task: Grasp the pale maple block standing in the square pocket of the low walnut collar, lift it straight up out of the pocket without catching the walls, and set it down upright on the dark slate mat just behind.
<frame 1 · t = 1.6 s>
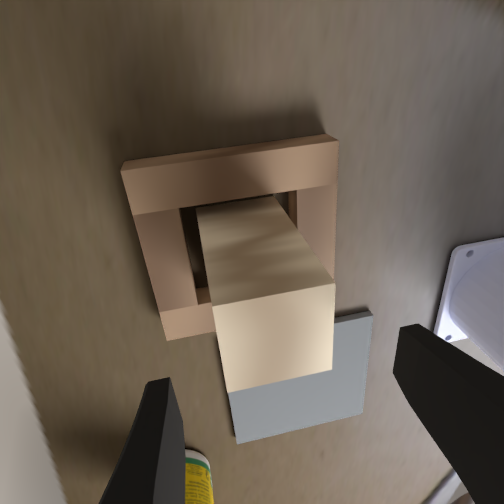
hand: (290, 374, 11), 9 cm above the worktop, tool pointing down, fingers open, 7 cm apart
supplement bottle: (175, 466, 28), on the worktop
slate mat: (298, 379, 26), on the worktop
pocket block: (239, 237, 19), on the worktop
maple part: (254, 277, 16), in the pocket block
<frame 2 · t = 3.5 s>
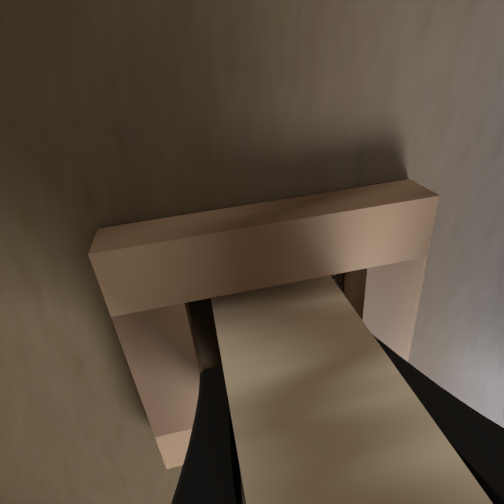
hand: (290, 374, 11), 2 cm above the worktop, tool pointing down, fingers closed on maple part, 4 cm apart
pocket block: (271, 323, 13), on the worktop
maple part: (307, 419, 10), in the pocket block, touching gripper
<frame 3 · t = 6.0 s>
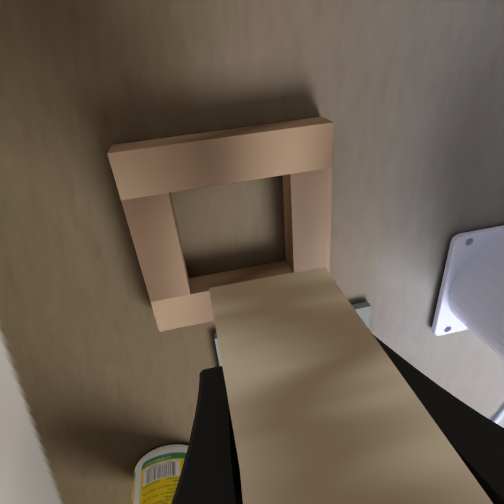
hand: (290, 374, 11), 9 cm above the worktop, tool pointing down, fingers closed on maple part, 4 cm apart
supplement bottle: (170, 461, 28), on the worktop
slate mat: (294, 372, 25), on the worktop
pocket block: (232, 224, 19), on the worktop
maple part: (307, 418, 10), point 11 cm above the worktop, touching gripper
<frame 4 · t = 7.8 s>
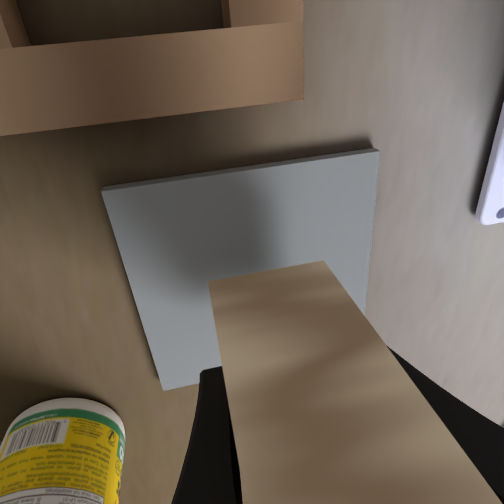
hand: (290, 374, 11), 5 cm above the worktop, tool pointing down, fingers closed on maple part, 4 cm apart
supplement bottle: (71, 427, 18), on the worktop
slate mat: (255, 279, 16), on the worktop
maple part: (306, 410, 10), point 7 cm above the worktop, touching gripper
when the fingers open (4 cm above the worktop, at t = 9.0 s): maple part stays where it is, resting on slate mat.
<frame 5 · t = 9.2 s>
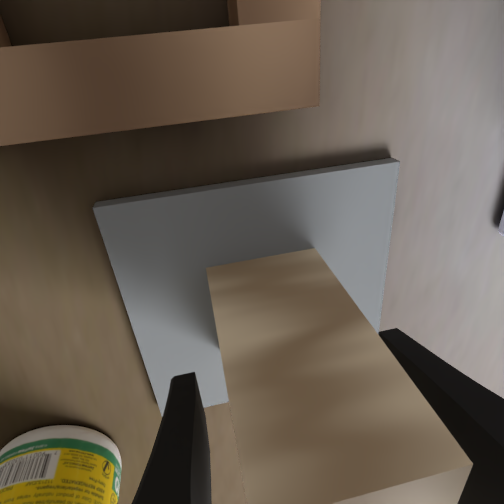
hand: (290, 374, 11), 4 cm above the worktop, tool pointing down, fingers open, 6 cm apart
supplement bottle: (63, 455, 17), on the worktop
slate mat: (262, 298, 14), on the worktop
maple part: (296, 384, 11), on the slate mat
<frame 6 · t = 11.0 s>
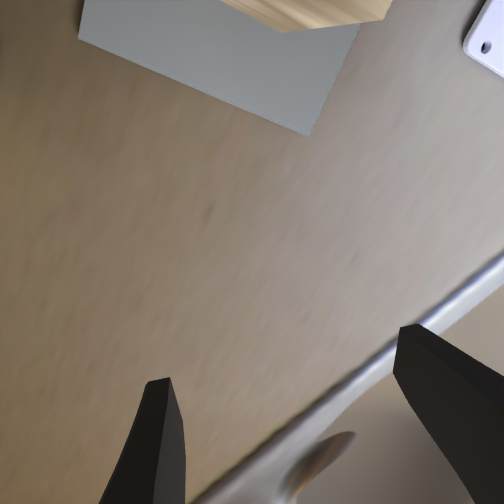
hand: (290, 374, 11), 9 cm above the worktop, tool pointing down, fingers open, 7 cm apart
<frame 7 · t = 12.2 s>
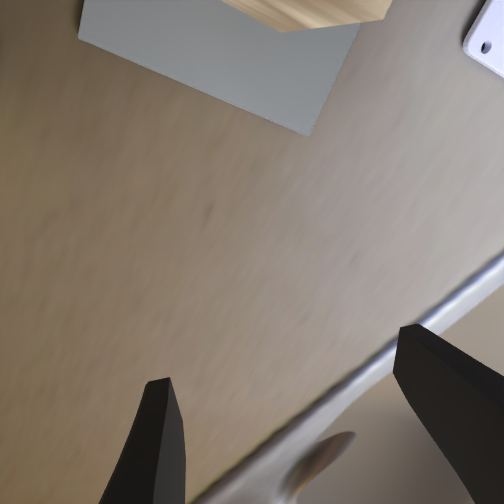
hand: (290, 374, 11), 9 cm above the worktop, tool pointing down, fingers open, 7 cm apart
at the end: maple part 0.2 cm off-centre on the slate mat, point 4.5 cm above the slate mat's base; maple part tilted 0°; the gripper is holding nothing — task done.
